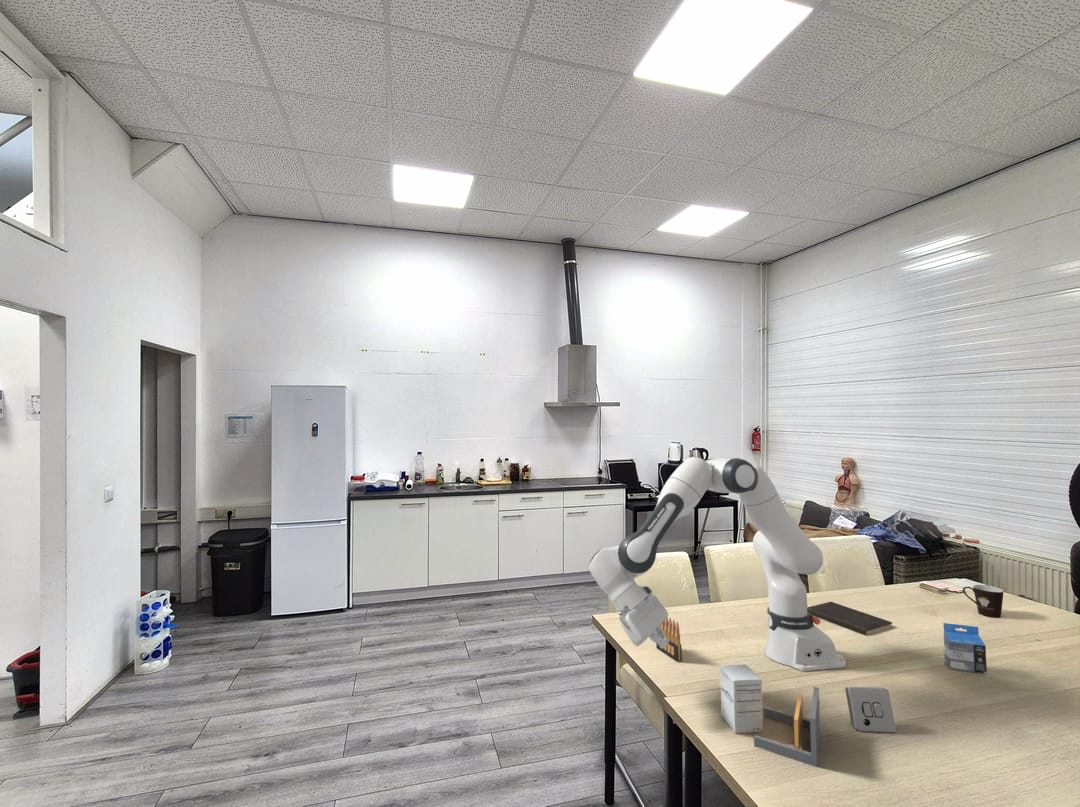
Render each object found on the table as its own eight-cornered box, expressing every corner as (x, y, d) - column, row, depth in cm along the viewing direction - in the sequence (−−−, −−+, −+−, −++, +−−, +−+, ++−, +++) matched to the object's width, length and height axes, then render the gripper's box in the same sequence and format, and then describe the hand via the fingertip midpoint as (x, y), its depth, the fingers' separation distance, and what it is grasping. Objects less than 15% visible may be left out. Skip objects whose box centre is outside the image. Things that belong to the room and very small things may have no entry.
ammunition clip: (682, 661, 149) (681, 622, 150) (677, 662, 148) (676, 623, 149) (660, 646, 159) (660, 610, 160) (656, 647, 158) (655, 611, 159)
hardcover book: (830, 607, 194) (830, 601, 194) (892, 628, 173) (892, 622, 173) (804, 613, 187) (804, 607, 187) (865, 637, 166) (865, 630, 166)
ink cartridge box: (950, 669, 143) (948, 627, 143) (944, 663, 146) (942, 622, 147) (987, 674, 140) (985, 631, 140) (980, 668, 143) (978, 626, 144)
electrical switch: (856, 732, 114) (853, 690, 115) (844, 721, 119) (841, 681, 121) (897, 733, 114) (893, 692, 115) (883, 722, 119) (879, 682, 120)
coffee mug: (1011, 619, 179) (1010, 592, 179) (988, 619, 179) (987, 592, 179) (983, 607, 190) (982, 582, 191) (961, 607, 191) (960, 582, 191)
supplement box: (720, 715, 121) (719, 664, 122) (748, 713, 122) (746, 663, 122) (734, 734, 114) (733, 680, 114) (764, 732, 114) (762, 678, 115)
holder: (754, 746, 109) (753, 701, 110) (763, 713, 122) (762, 673, 122) (816, 766, 103) (815, 719, 103) (820, 730, 115) (818, 688, 115)
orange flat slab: (794, 751, 106) (793, 719, 107) (799, 723, 116) (798, 693, 116) (798, 752, 106) (797, 720, 106) (803, 724, 116) (802, 694, 116)
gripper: (623, 607, 124) (661, 655, 119) (651, 584, 141) (684, 625, 136) (608, 620, 127) (644, 668, 121) (637, 597, 144) (669, 637, 138)
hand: (665, 645), depth 128 cm, fingers closed
